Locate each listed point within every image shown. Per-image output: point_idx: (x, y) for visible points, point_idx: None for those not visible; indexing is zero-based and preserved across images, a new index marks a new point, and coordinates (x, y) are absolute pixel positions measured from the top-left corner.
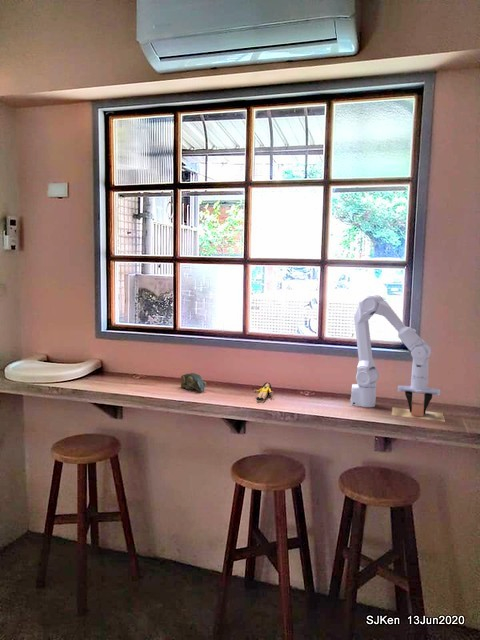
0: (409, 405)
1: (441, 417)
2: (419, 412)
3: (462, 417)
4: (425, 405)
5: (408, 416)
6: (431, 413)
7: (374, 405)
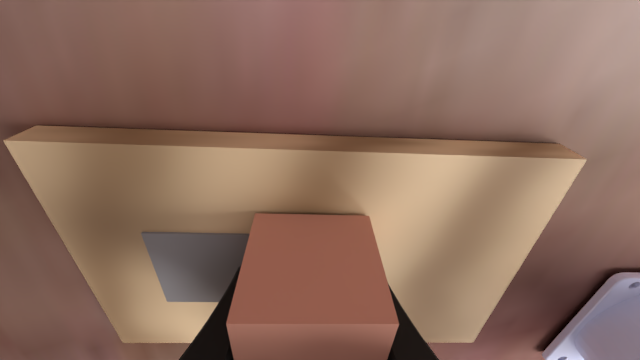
0: (410, 328)
1: (95, 256)
2: (292, 243)
3: (16, 337)
4: (211, 351)
5: (406, 178)
6: (197, 316)
7: (615, 331)
